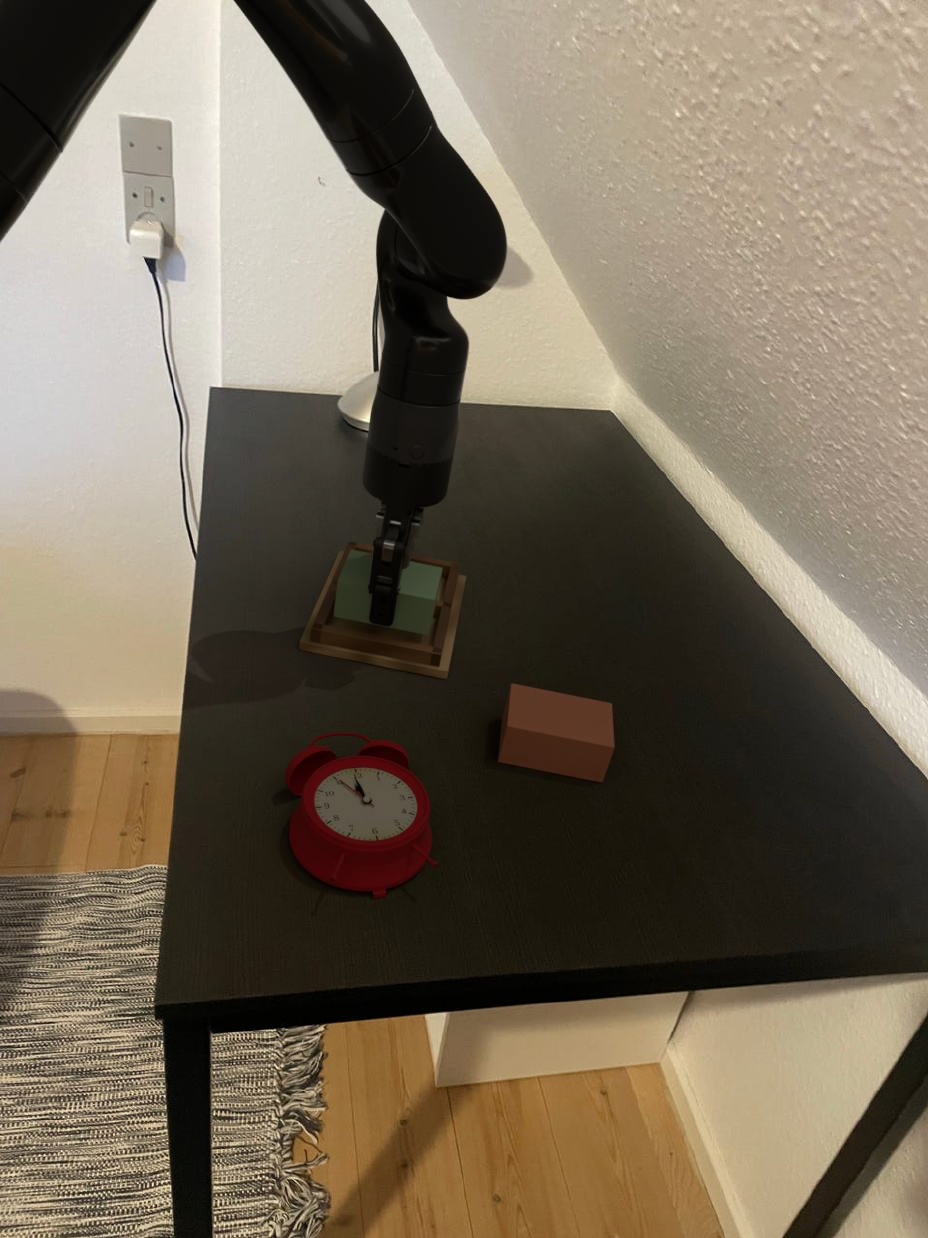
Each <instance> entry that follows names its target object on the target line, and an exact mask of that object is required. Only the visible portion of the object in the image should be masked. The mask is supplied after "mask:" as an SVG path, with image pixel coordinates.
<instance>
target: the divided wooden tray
mask: <svg viewBox="0 0 928 1238" xmlns="http://www.w3.org/2000/svg"><path fill="white" fill-rule="evenodd" d="M350 550H356V551H361V552H366V553H371V554H372V550H373V545H370V544H366V543H361V542H355V541H350V540H348V543H347V545H346V547H345V549H344V550H339V552H338V554H337V555H336V558H335V560H334V563H333V565H332V567H331V570H330V572H329V574H328V577H327V578H326V580H325V583H324V585H323V588H322V590H321V592H320V594H319V597H318V598H317V601H316V603H315V606H314V608H313V610H312V613H311V615H310V617H309V619H308V621H307V624H306V625H305V629H304V631H303V633H302V635H301V636H300V640H299V643H298V650H299V651H303V652H308V653H313V654H316V655H317V654H318V655H324V656H326V657H327V656H329V657H333V658H338V659H343V660H347V661H353V662H357V663H362V664H367V665H373V666H378V667H383V668H387V669H393V670H398V671H401V672H402V671H403V672H407V673H411V674H418V675H422V676H427V677H432V678H437V679H442V680H447V679H448V676H449V671H450V665H451V660H452V655H453V650H454V645H455V639H456V635H457V628H458V625H459V624H458V623H459V619H460V612H461V607H462V604H463V603H462V602H463V598H464V593H465V587H466V582H467V575H464V574H460V569H461V563H459V562H456V561H455V562H454V561H449V560H444V559H441V558H440V559H439V558H434V557H429V556H425V555H419V554H415V553H412V556H411V562H416V563H421V564H426V565H431V566H436V567H441V568H443V569H442V575H441V580H440V585H439V591H438V596H437V601H436V606H435V610H434V614H433V619H432V623H431V627H430V631H429V635H424V634H419V633H414V632H409V631H404V630H399V629H394V628H389V627H384V626H379V625H374V624H369V623H364V622H359V621H354V620H349V619H344V618H339V617H334V607H335V599H336V590H337V582H338V578H339V576H340V574H341V571H342V569H343V566H344V564H345V562H346V559H347V557H348V555H349V552H350Z"/></svg>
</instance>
